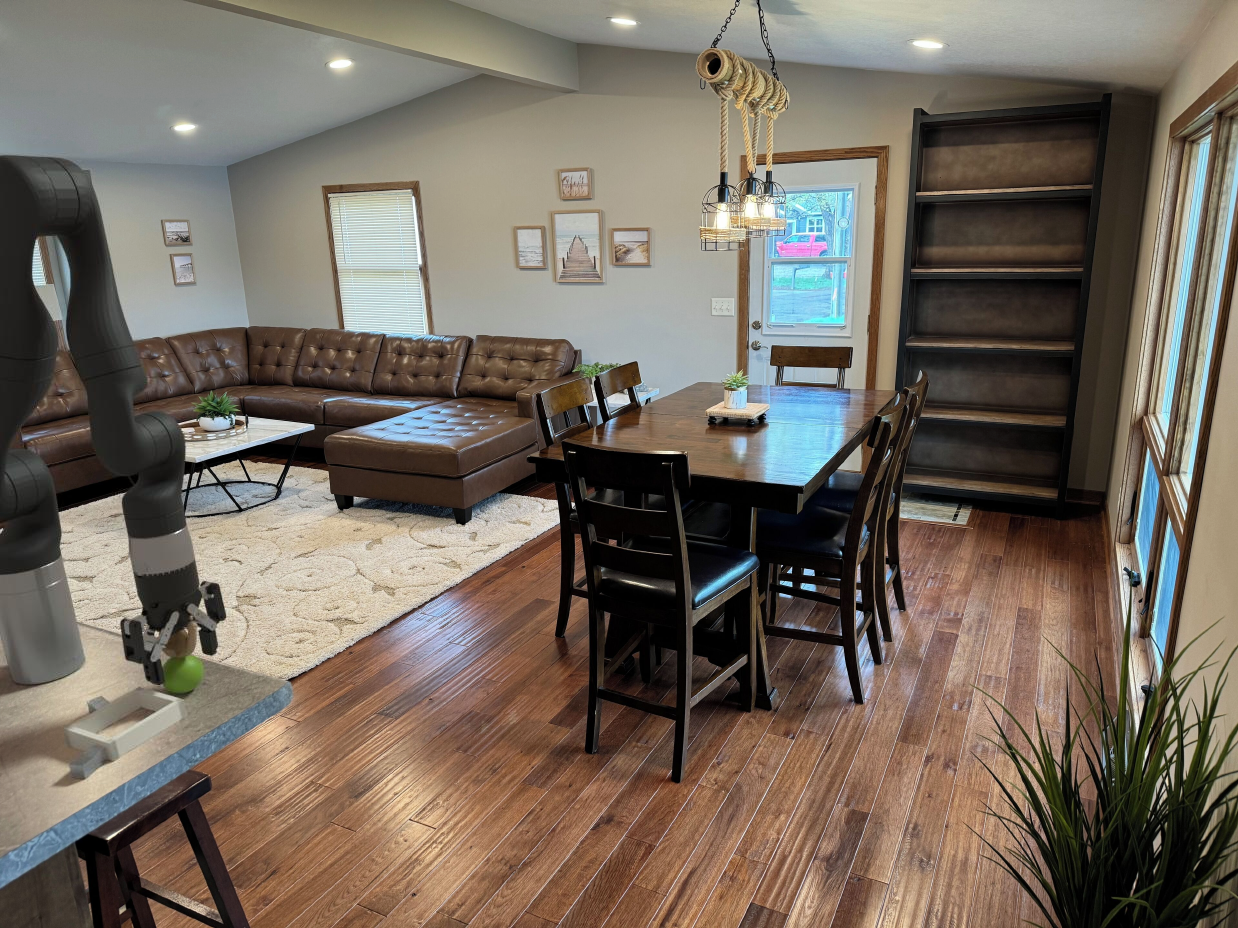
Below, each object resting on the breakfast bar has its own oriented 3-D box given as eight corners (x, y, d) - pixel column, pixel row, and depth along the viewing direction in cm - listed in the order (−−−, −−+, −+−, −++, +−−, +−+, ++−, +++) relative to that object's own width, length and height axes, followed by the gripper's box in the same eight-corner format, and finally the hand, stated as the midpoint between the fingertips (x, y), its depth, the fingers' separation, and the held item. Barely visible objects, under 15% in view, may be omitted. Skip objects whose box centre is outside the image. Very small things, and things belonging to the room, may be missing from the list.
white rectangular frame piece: (12, 755, 106) (7, 738, 105) (120, 696, 119) (117, 680, 118) (81, 781, 101) (77, 762, 100) (187, 716, 114) (184, 699, 113)
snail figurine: (195, 702, 117) (180, 623, 113) (155, 698, 118) (138, 620, 115) (221, 682, 122) (207, 606, 118) (181, 678, 123) (167, 603, 120)
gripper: (188, 539, 122) (207, 640, 127) (95, 577, 110) (119, 688, 114) (226, 545, 119) (244, 649, 124) (134, 585, 107) (158, 699, 111)
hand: (184, 668), depth 119 cm, fingers open, 8 cm apart
